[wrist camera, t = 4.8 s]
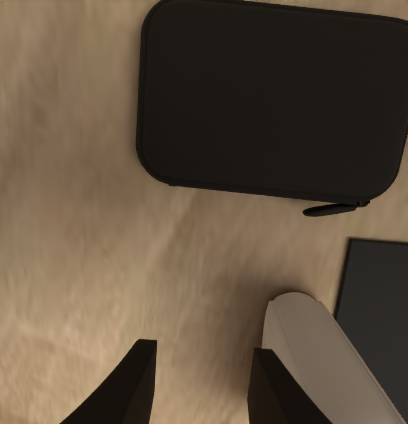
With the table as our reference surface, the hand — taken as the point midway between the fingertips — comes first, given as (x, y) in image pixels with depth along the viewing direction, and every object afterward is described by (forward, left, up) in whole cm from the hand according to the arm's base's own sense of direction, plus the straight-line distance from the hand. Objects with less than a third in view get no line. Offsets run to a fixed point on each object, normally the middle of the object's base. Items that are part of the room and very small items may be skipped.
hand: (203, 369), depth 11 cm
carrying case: (-3, -9, -11) cm, 14 cm away
